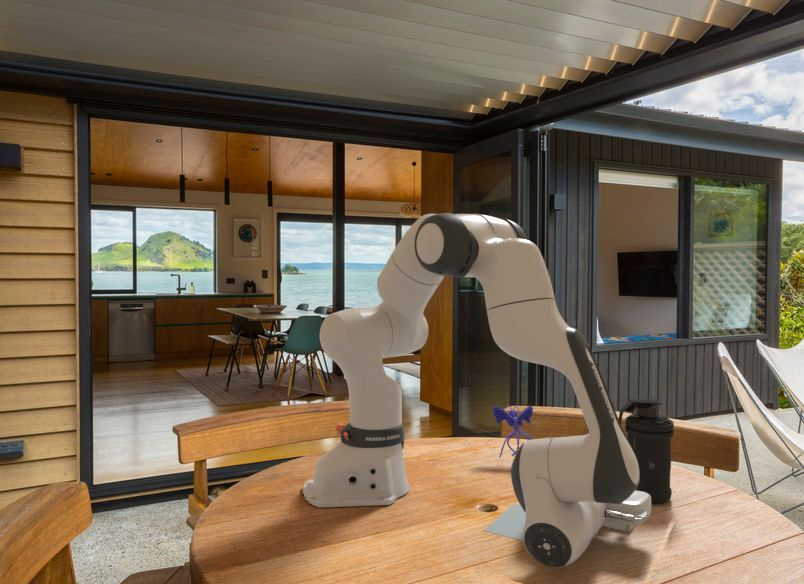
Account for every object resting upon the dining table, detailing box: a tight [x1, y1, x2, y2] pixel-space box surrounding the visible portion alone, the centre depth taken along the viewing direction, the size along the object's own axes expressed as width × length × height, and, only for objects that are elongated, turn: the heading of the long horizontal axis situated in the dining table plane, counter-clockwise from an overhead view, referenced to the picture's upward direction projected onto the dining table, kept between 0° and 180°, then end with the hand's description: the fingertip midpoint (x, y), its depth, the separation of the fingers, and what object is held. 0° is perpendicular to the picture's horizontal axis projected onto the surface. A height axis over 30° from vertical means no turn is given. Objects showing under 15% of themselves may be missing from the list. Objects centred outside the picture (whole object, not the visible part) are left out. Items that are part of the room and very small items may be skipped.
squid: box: [489, 405, 534, 458], centre depth 153 cm, size 14×35×18 cm
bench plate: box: [482, 503, 526, 542], centre depth 108 cm, size 14×14×2 cm
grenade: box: [618, 398, 675, 505], centre depth 125 cm, size 9×11×20 cm
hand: (598, 483), depth 112 cm, fingers open, 8 cm apart
